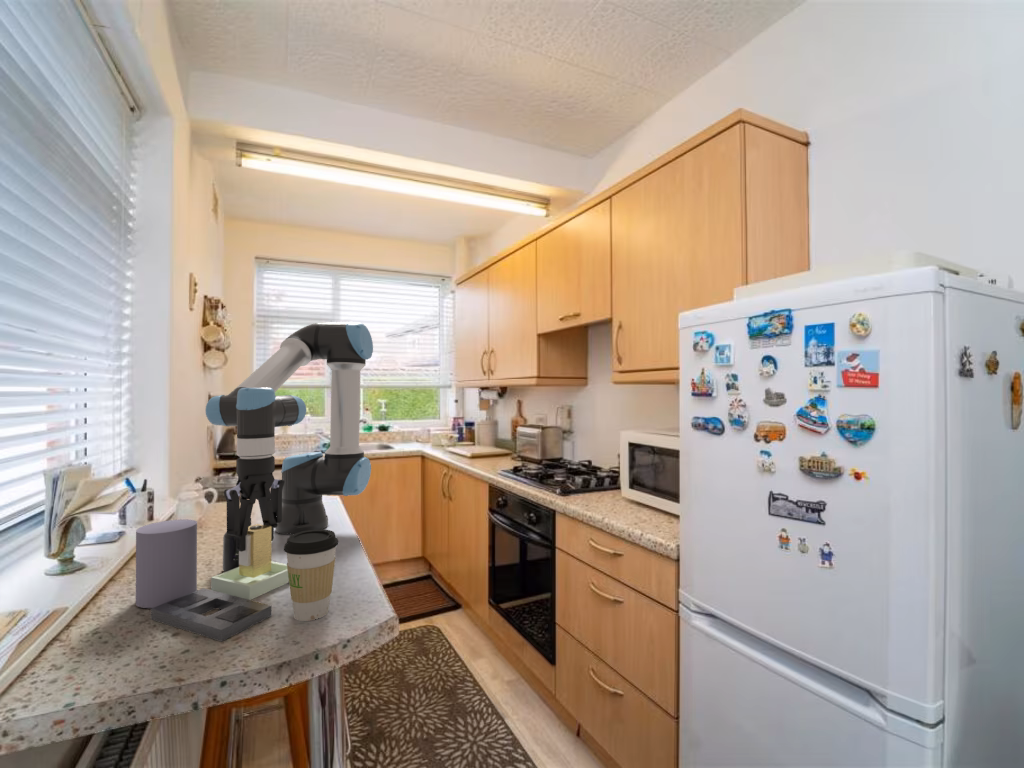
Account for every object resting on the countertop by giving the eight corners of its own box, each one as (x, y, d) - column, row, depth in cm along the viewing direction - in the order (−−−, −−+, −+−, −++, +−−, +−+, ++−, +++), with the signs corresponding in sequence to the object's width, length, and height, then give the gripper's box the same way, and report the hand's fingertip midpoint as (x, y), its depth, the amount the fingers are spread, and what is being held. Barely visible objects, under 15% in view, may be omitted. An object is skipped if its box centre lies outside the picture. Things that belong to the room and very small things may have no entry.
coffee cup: (298, 601, 96) (299, 528, 97) (346, 602, 96) (346, 528, 96) (273, 625, 87) (273, 544, 87) (325, 626, 86) (325, 544, 86)
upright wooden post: (257, 567, 108) (257, 523, 108) (271, 570, 106) (271, 525, 106) (239, 574, 104) (239, 528, 104) (253, 577, 102) (253, 530, 102)
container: (205, 586, 104) (206, 518, 104) (181, 607, 94) (181, 532, 94) (153, 589, 102) (154, 520, 103) (123, 611, 92) (123, 535, 92)
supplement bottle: (240, 575, 110) (240, 523, 110) (215, 572, 112) (215, 522, 112) (261, 564, 117) (261, 516, 117) (238, 562, 118) (238, 514, 118)
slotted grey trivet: (203, 597, 98) (203, 587, 98) (271, 615, 90) (271, 604, 90) (150, 619, 89) (150, 608, 89) (221, 641, 81) (221, 629, 81)
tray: (260, 570, 113) (260, 558, 113) (297, 578, 108) (297, 566, 108) (211, 590, 102) (211, 577, 102) (249, 600, 97) (249, 586, 97)
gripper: (277, 450, 115) (277, 546, 115) (205, 460, 99) (205, 572, 98) (300, 452, 112) (299, 550, 112) (230, 462, 96) (229, 577, 95)
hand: (255, 560), depth 105 cm, fingers closed on upright wooden post, 4 cm apart
